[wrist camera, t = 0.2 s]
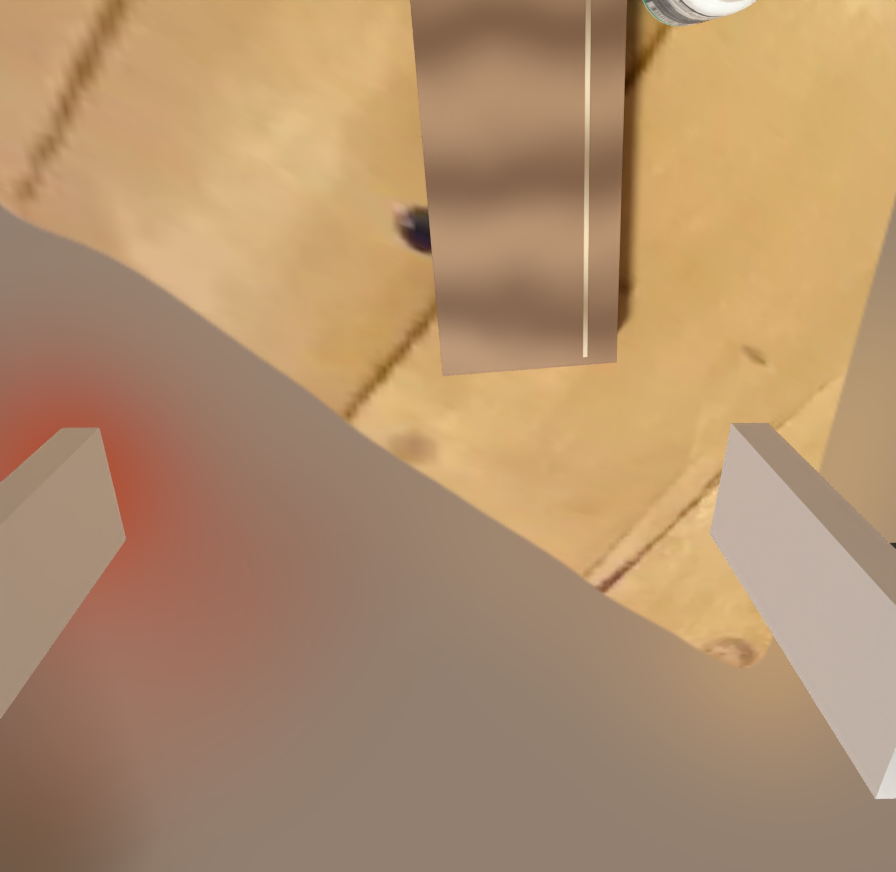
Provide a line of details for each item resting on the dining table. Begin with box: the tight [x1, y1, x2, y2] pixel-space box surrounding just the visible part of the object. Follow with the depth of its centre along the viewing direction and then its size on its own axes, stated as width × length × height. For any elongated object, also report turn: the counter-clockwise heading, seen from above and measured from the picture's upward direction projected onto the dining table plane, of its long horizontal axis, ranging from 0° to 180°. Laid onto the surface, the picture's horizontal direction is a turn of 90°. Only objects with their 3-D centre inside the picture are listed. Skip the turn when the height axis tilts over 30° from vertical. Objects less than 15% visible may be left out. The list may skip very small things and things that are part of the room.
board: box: [410, 0, 627, 376], centre depth 37 cm, size 22×10×3 cm, turn 4°
